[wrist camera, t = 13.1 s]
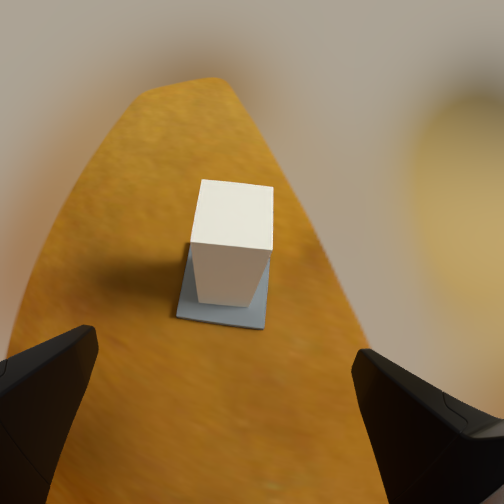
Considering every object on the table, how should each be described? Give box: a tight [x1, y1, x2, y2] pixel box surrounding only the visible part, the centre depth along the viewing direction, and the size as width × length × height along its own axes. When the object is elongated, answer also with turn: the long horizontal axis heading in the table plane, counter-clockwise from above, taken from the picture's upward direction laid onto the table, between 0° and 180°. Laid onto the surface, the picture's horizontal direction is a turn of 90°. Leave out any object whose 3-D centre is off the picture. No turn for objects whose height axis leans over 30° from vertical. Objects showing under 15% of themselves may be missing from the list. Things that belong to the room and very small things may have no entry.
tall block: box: [190, 179, 273, 308], centre depth 19 cm, size 4×4×10 cm
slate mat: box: [176, 245, 270, 330], centre depth 24 cm, size 7×7×1 cm
